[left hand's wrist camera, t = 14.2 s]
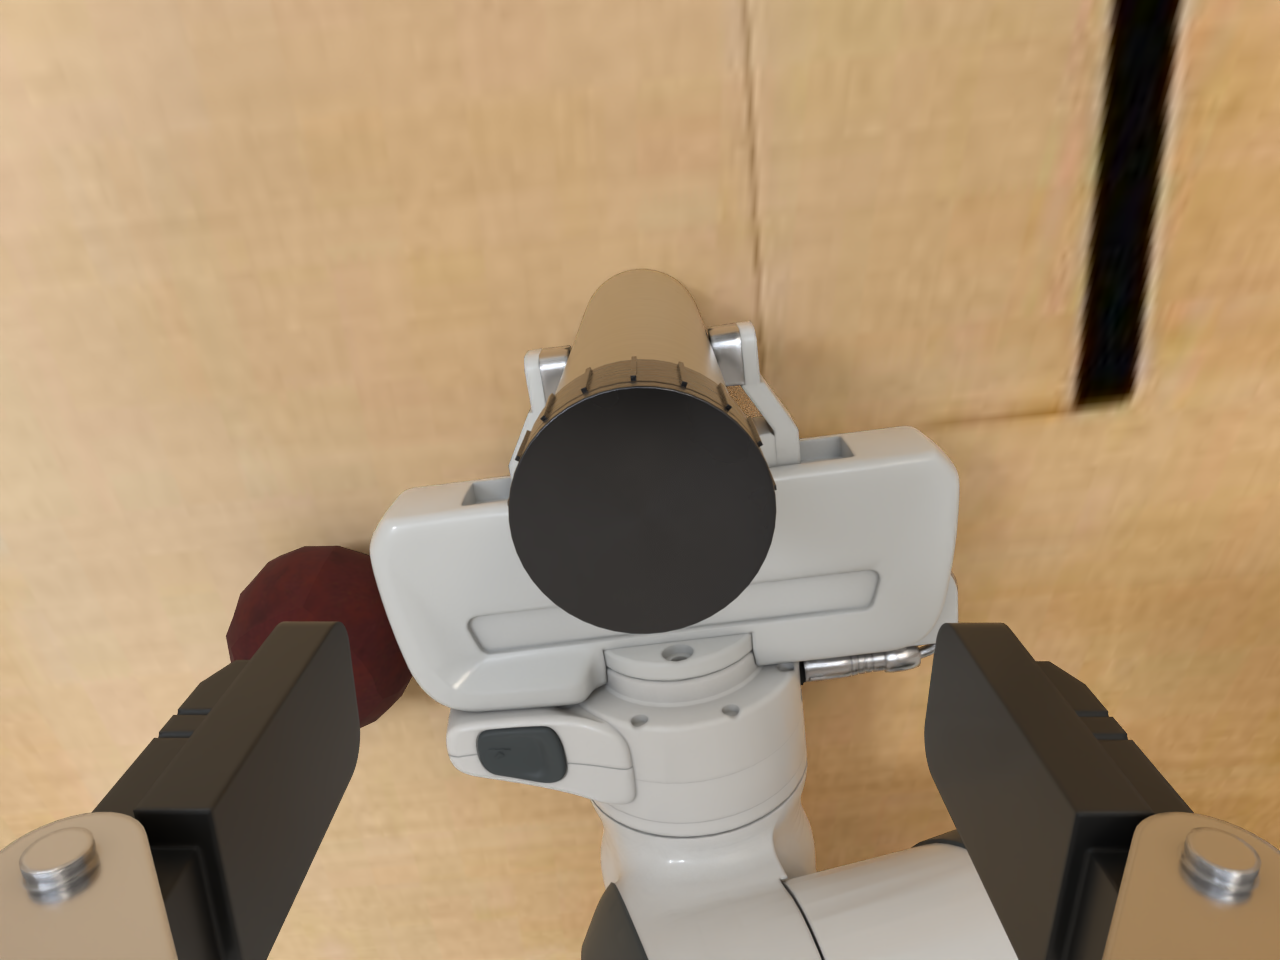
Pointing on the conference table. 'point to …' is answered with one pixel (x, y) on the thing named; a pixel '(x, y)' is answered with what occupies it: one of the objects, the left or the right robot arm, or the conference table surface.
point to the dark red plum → (326, 617)
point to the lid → (642, 498)
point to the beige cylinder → (641, 326)
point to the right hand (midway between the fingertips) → (637, 338)
